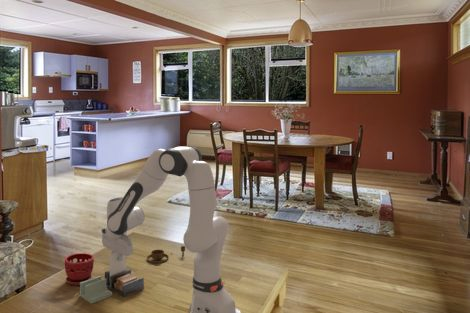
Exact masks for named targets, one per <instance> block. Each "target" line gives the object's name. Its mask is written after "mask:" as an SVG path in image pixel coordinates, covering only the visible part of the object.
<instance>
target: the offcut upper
mask: <svg viewBox="0 0 470 313" xmlns="http://www.w3.org/2000/svg"><path fill="white" fill-rule="evenodd" d="M136 279H138V277H137V276H135V275H134V274H133V275H132V273H131V274H127V275H125V276H122V277H119V278H117V283H118V284H120V285H124V284H126V283H129V282H131V281H134V280H136Z"/></svg>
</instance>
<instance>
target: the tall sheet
mask: <svg viewBox="0 0 470 313" xmlns="http://www.w3.org/2000/svg"><path fill="white" fill-rule="evenodd" d="M117 257H119V254H118V252H116V251H115V252H112V251H111V252H110V253H108V262H109V263H108V264H109V266H108V270H109V275H110V276H112V275H115V274H118V273H120V272H123V271H126V270H127V256H125V255H123V257H122V261H118V260H117Z"/></svg>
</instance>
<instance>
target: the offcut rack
mask: <svg viewBox="0 0 470 313" xmlns="http://www.w3.org/2000/svg"><path fill="white" fill-rule="evenodd" d="M127 274H131V275H132V270H131V269H130V268H129V269H126V271H123V272H120V273H118V274H115V275H112V276H110V275H109V269H108V270H106V271H104V278H106V287H107V290H109V291H111V292H114V293H116V294H118V295H119V296H121V297H123V298H126V297H127V296H130V295H132V294H134V293H137V292H139V291H142V290H144V289H145V287H144V284H145V281H144V280H145V279H144V277H143V276H141V277H139V278H138V277H137V279H136V280H134V281H131V282H129V283H126V284H124V285H122V291H121V290H119V289H117V288H115V287H114V283H116V282H117V278H119V277H122V276H125V275H127Z"/></svg>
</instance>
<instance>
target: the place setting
mask: <svg viewBox="0 0 470 313" xmlns="http://www.w3.org/2000/svg"><path fill="white" fill-rule="evenodd" d="M185 251H186V247H185V245H181V246H180V252H182V254H181V256H182V257H184V256H185ZM170 255H173V252H172V253H170ZM164 257H165V258H166V259H163V258H164ZM151 258H152V259H153V260H150V259H151ZM162 259H163V260H162ZM146 260H147V262H149V263H148V265H150V266H161V264H162V263H165V262H168V260H169V255H168V254H166V253H165V251H164V250H163V249H154V250H152V251H151V254H149V255H147V257H146Z"/></svg>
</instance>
